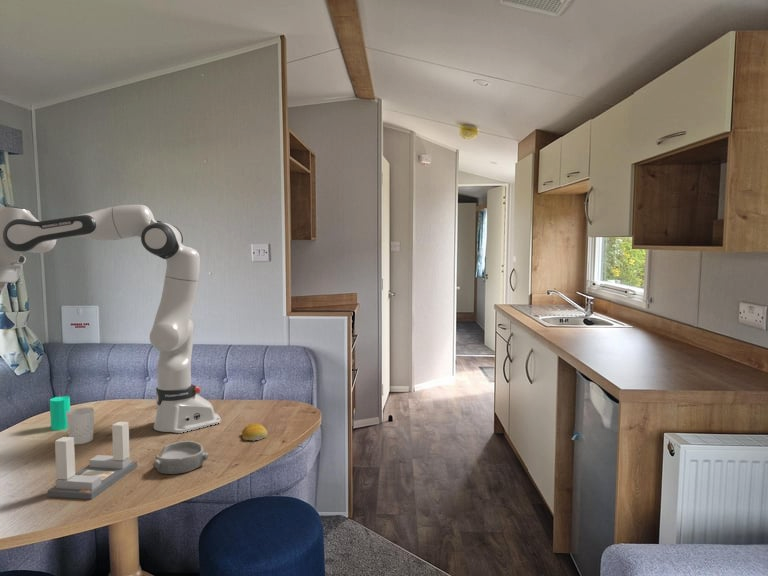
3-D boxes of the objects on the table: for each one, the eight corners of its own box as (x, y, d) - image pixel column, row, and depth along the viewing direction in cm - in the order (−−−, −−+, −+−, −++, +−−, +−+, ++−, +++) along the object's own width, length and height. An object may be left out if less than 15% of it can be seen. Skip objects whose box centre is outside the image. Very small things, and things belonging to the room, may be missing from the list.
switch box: (47, 496, 134) (47, 483, 133) (98, 464, 154) (98, 452, 153) (91, 499, 132) (91, 485, 132) (137, 466, 152) (136, 454, 152)
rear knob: (113, 459, 147) (112, 425, 147) (119, 455, 150) (118, 421, 150) (123, 460, 147) (122, 425, 146) (129, 456, 150) (128, 422, 149)
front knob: (56, 478, 135) (54, 441, 135) (64, 473, 138) (63, 436, 137) (67, 479, 135) (65, 441, 134) (75, 474, 138) (73, 437, 137)
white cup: (64, 441, 171) (62, 411, 170) (90, 434, 177) (89, 405, 176) (71, 447, 166) (70, 416, 165) (98, 440, 172) (97, 410, 171)
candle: (74, 425, 186) (73, 391, 185) (63, 430, 180) (61, 396, 179) (59, 424, 187) (57, 391, 186) (46, 430, 181) (45, 396, 180)
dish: (154, 479, 144) (154, 462, 144) (154, 460, 157) (154, 444, 157) (209, 471, 150) (209, 454, 150) (205, 453, 163) (205, 437, 162)
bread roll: (243, 443, 171) (243, 431, 171) (241, 434, 180) (241, 422, 179) (269, 440, 174) (269, 428, 174) (265, 431, 183) (265, 420, 182)
